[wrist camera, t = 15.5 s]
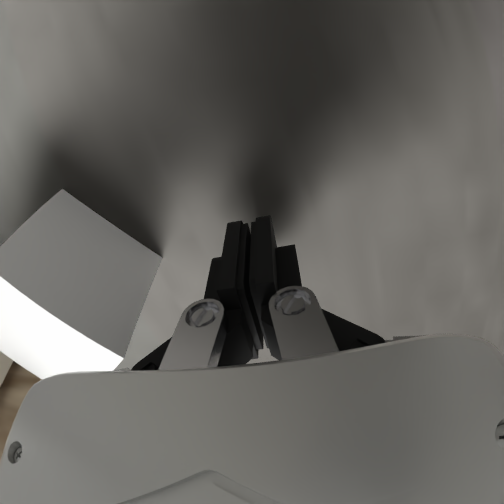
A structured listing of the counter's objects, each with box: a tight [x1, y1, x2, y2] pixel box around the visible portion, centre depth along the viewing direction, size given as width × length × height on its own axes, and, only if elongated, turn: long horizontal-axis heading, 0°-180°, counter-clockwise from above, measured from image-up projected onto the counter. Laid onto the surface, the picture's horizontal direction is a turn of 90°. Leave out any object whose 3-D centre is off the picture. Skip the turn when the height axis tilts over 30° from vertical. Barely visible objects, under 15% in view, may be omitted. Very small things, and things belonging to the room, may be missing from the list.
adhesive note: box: [0, 189, 162, 379], centre depth 12 cm, size 6×6×6 cm
